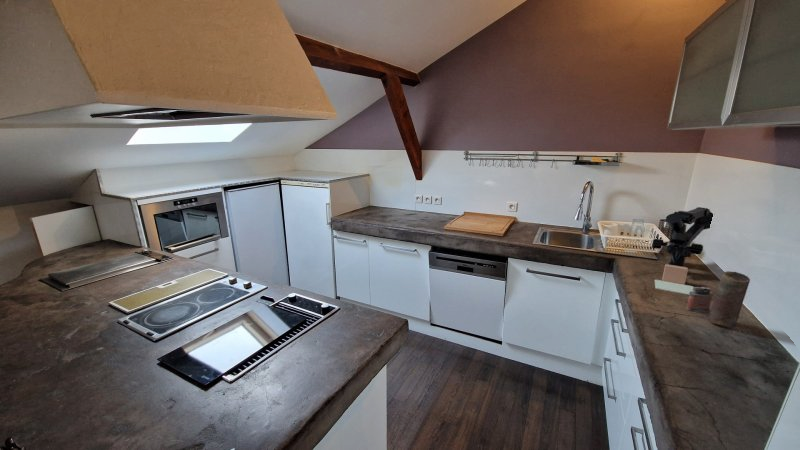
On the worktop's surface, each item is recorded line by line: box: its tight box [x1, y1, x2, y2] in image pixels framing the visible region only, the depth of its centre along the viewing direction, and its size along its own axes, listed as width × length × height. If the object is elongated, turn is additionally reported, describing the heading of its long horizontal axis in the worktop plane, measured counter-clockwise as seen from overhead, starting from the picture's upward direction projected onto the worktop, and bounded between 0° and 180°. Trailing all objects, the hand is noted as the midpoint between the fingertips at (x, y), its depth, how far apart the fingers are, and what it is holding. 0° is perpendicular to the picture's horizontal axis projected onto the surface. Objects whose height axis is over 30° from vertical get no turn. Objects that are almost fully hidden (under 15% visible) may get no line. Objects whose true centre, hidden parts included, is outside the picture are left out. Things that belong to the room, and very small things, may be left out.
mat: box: [654, 279, 694, 296], centre depth 149 cm, size 10×14×1 cm
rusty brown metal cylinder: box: [707, 270, 751, 328], centre depth 119 cm, size 8×7×20 cm
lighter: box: [685, 286, 714, 313], centre depth 130 cm, size 8×3×10 cm, turn 84°
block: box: [661, 263, 689, 285], centre depth 153 cm, size 2×8×8 cm, turn 55°
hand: (674, 261), depth 157 cm, fingers closed
